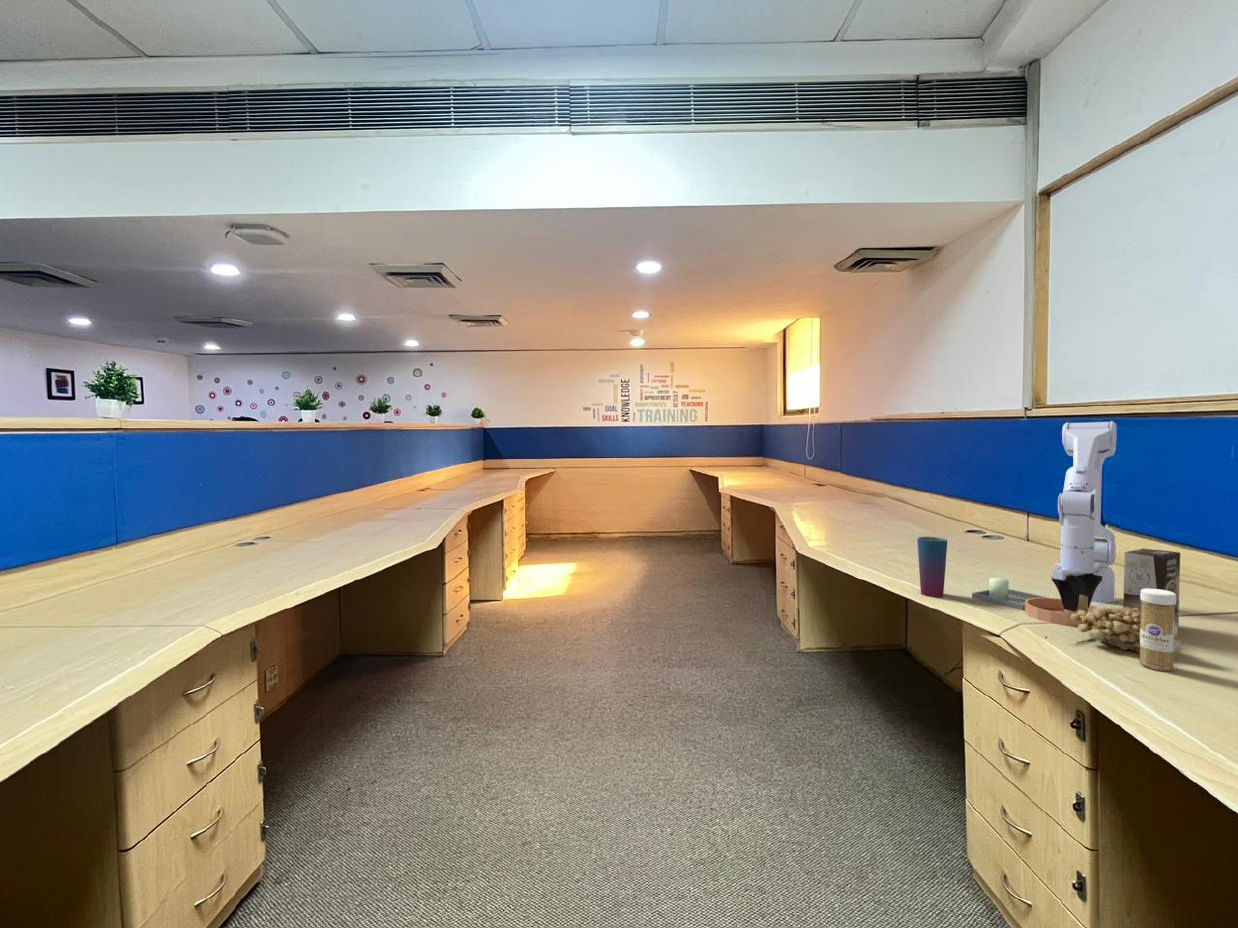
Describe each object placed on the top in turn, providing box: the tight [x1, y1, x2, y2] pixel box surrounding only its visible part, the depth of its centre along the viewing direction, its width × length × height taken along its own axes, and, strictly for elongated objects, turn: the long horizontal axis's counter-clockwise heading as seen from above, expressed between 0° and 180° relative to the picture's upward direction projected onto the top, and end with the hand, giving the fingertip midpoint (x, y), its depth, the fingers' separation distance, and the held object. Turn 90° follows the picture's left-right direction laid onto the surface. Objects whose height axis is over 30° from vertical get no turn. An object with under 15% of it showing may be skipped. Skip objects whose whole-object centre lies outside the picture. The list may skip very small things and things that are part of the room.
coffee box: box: [1122, 548, 1181, 628], centre depth 120 cm, size 9×6×16 cm
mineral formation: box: [1071, 606, 1181, 654], centre depth 111 cm, size 8×13×15 cm
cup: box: [916, 536, 948, 598], centre depth 146 cm, size 7×7×15 cm
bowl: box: [1024, 597, 1098, 627], centre depth 127 cm, size 13×13×3 cm
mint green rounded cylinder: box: [988, 577, 1010, 600], centre depth 143 cm, size 4×4×4 cm
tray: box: [971, 588, 1049, 611], centre depth 140 cm, size 12×12×2 cm
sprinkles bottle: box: [1138, 588, 1176, 672], centre depth 100 cm, size 5×5×14 cm
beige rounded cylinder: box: [1064, 595, 1088, 614], centre depth 124 cm, size 4×4×4 cm
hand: (1076, 608), depth 124 cm, fingers open, 4 cm apart
